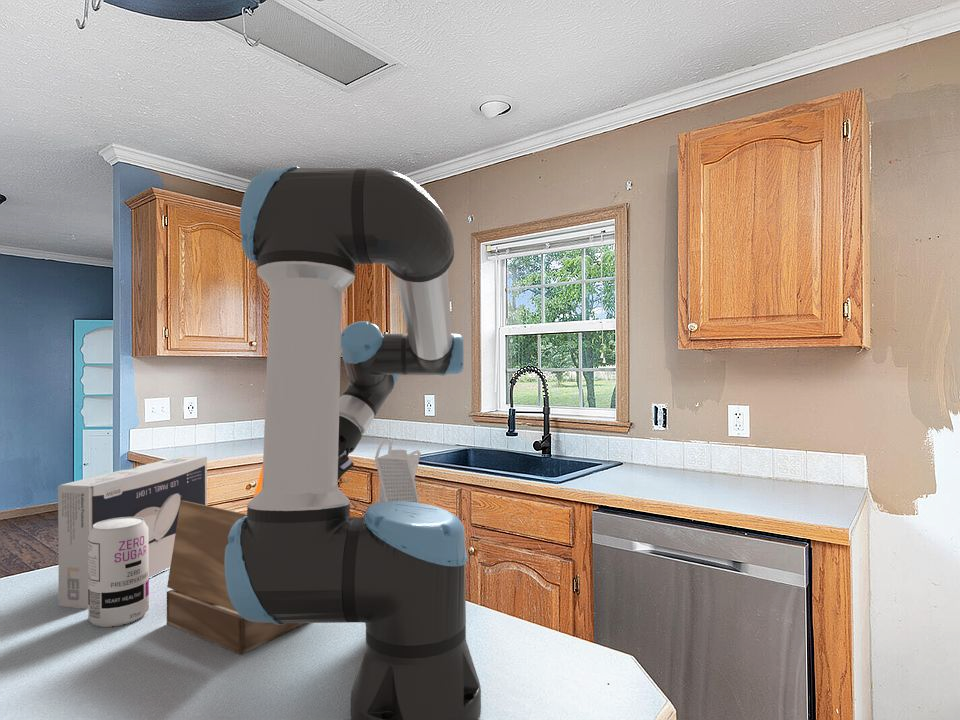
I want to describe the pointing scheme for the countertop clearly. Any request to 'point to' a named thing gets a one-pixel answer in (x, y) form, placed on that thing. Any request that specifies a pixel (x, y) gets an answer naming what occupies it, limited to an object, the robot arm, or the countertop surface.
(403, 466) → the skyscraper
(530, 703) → the countertop surface
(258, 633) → the box
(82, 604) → the packaging
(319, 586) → the robot arm
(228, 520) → the lid
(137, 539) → the supplement can
